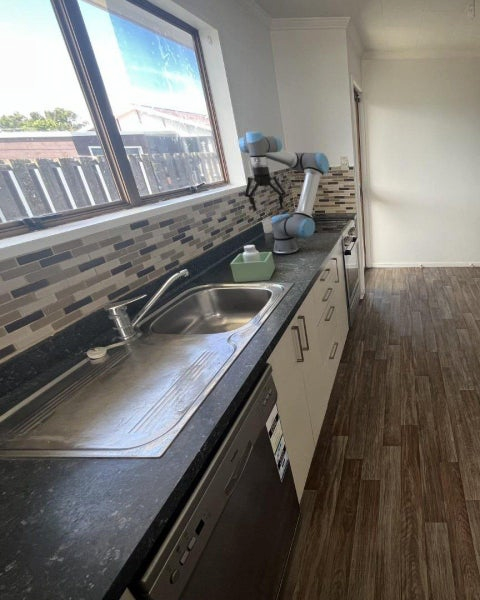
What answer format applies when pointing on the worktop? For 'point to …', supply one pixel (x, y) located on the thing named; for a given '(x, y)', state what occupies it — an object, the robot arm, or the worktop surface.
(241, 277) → the bin
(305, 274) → the worktop surface
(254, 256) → the pill bottle
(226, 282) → the worktop surface
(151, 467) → the worktop surface
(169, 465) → the worktop surface
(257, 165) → the robot arm
